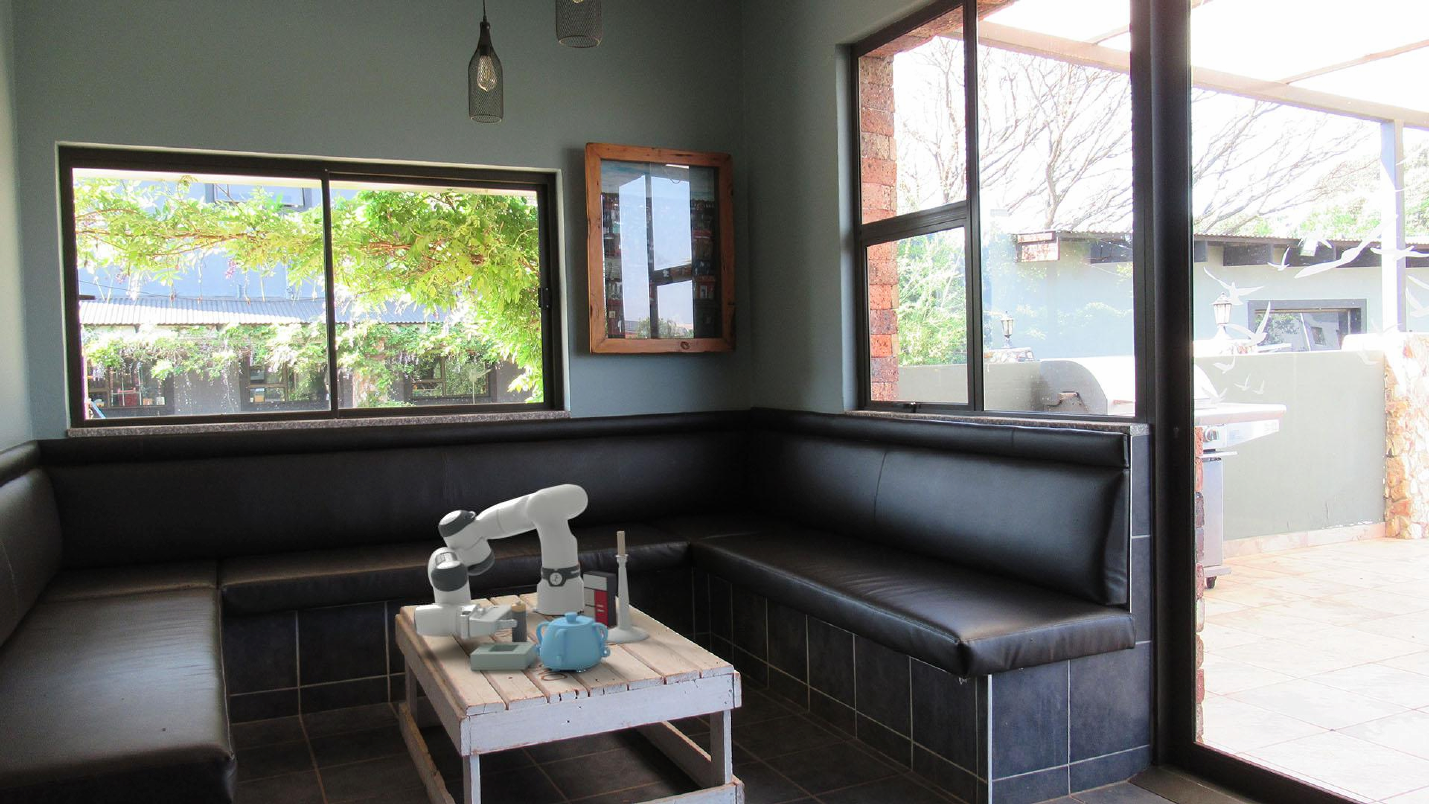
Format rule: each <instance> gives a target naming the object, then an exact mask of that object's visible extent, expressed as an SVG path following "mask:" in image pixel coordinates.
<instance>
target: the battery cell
mask: <svg viewBox="0 0 1429 804" xmlns="http://www.w3.org/2000/svg"><path fill="white" fill-rule="evenodd" d="M510 605H511V619H516V620H517V621H518V625H517V626H516V627H511V642H528V627H527V617H526V611H527V606H526V605H527V604H526V603H525V602H521V600H516V601H515V602H514V603H510Z"/></svg>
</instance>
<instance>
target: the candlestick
mask: <svg viewBox="0 0 1429 804" xmlns="http://www.w3.org/2000/svg"><path fill="white" fill-rule="evenodd" d="M616 535H617V536H616V537H617V555H615V557H616V561H617V563H618V566H619V567H618V607H617V609H618V614H617V615H618V617H617V627H613V628H611V629H609V630H608V638H607V642H606V643H609V644H632V643H631V642H633V643H636V642H635V641H638V642H642V641H644V640H646V639H647V638H648V637H649V632H648V631H647V630H645V629H643V628H641V627H638V626H632V622H631V621H632V620H631V612H630V611H631V610H630V599H629V589H628V588H629V587H628V577H627V576H628V575H627V568H626V563H627V561H628V559H627V558H628V556H629V555H628V554H626V540H625V539H626V538H625V535H626V534H625V531H624V530H623V531H622V530H621V529H620V530H619V531H617V532H616ZM602 637H603V634H602ZM645 638H646V639H645ZM643 639H644V640H643ZM641 640H642V641H641Z"/></svg>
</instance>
